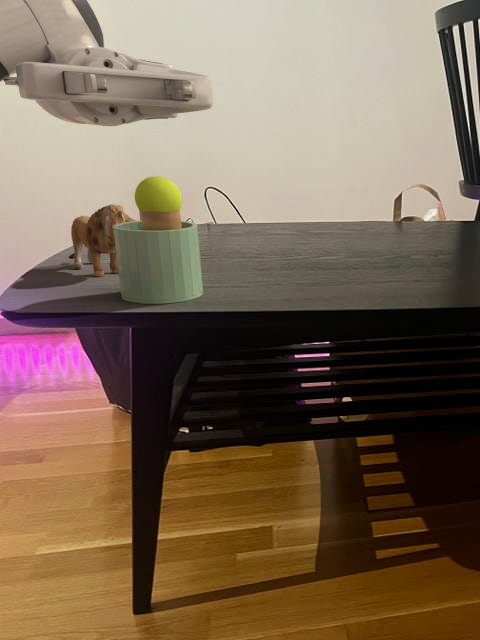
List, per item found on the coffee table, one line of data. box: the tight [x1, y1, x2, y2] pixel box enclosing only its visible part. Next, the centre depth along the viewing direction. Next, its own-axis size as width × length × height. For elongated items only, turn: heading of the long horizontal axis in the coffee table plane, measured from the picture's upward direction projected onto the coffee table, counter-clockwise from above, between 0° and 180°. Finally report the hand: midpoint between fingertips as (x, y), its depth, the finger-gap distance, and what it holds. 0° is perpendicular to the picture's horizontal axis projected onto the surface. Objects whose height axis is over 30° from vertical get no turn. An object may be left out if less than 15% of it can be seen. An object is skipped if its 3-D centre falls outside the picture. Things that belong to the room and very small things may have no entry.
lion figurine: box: [68, 203, 137, 278], centre depth 91 cm, size 15×5×9 cm, turn 56°
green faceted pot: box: [112, 220, 204, 305], centre depth 80 cm, size 9×9×8 cm
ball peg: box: [134, 175, 183, 231], centre depth 79 cm, size 5×5×13 cm
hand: (146, 86), depth 75 cm, fingers open, 8 cm apart
